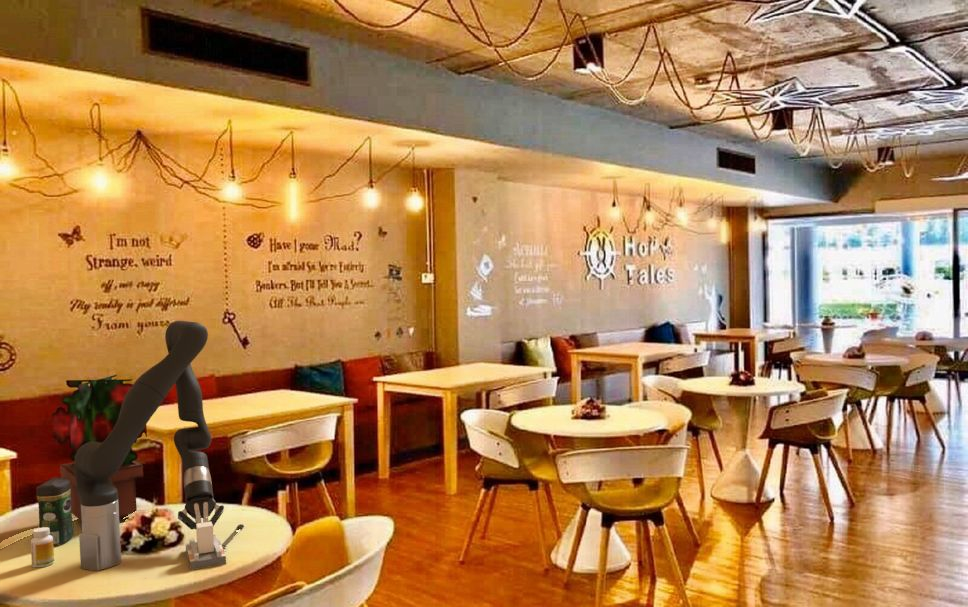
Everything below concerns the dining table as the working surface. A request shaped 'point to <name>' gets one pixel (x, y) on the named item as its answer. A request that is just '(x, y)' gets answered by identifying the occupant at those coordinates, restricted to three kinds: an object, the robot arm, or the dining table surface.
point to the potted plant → (96, 434)
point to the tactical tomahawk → (231, 536)
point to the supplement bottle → (42, 548)
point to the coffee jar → (56, 509)
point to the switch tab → (205, 537)
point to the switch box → (205, 555)
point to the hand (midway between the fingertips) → (204, 540)
